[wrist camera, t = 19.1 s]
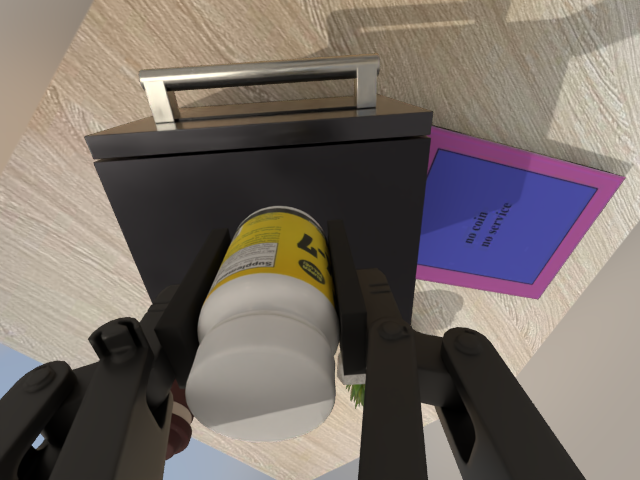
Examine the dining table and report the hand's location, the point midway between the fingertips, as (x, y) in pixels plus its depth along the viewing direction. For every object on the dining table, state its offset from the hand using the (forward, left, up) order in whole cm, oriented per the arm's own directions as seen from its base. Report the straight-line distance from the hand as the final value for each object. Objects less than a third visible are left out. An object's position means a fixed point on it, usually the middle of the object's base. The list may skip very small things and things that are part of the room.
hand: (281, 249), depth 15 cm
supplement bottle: (0, 0, -1) cm, 1 cm away
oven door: (-6, 0, -27) cm, 28 cm away
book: (+20, +21, -27) cm, 40 cm away
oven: (+5, -3, -27) cm, 28 cm away
